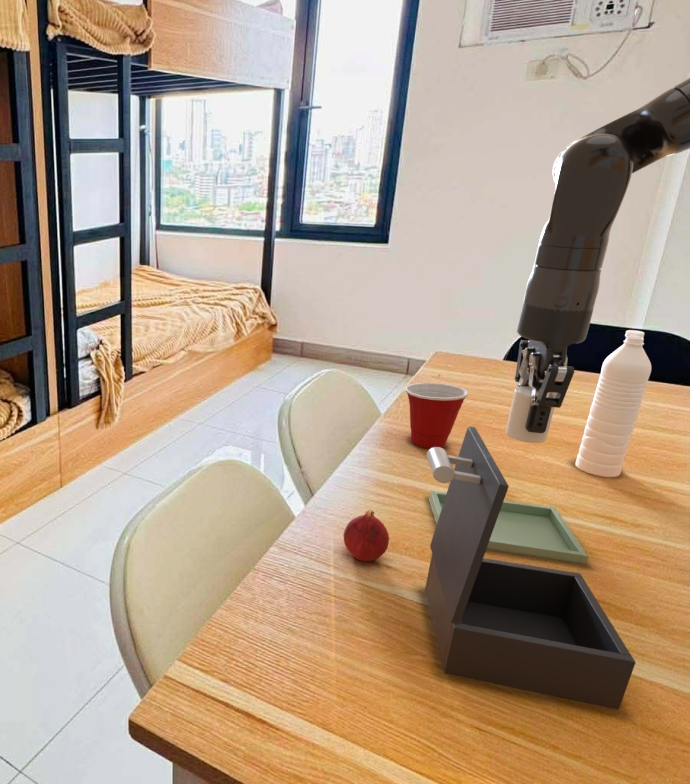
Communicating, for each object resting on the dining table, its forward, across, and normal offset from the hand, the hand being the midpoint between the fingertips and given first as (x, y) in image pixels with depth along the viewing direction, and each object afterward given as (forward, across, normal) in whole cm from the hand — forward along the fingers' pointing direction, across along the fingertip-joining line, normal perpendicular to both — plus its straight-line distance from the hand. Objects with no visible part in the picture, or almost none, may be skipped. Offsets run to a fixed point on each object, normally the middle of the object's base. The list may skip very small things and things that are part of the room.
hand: (528, 423), depth 86 cm
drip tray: (+19, +2, 0) cm, 19 cm away
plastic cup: (+19, +33, +6) cm, 39 cm away
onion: (+19, -12, +20) cm, 30 cm away
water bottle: (+19, +31, -22) cm, 43 cm away
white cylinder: (+2, 0, 0) cm, 2 cm away
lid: (+3, -25, +12) cm, 27 cm away
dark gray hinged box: (+19, -25, +5) cm, 31 cm away
